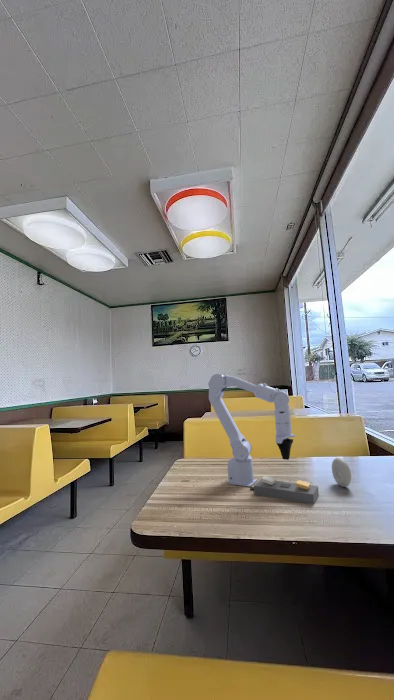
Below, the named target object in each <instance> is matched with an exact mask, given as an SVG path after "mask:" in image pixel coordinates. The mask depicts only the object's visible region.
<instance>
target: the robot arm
mask: <svg viewBox="0 0 394 700" xmlns="http://www.w3.org/2000/svg"><path fill="white" fill-rule="evenodd" d="M207 385H208V401H209V403H210V405H211V407H212V409H213V410H214V413H215V414H216V416H217V418H218V420H219V421H220V424H221V426H222V428H223V429H224V431H225V433H226V435H227V437H228V439H229V445H230V447H231V450H232V456H233V457H232V458H229V460H228V463H227V476H228V477H227V479H228V480H227V484H228V485H229V484H231V485H236V486H242V487H243V486H244V487H249V488H250V487H253V486H254V485H255V484H256V483H257V482H258V479H257V478H254V469H253V468H254V467H253V466H254V465H253V457H252V456H251V452H252V450H253V449H252V444H251V442H250V441H248V440H247V439H246V438H245V436H244V434H243V433H241V431H240V429H239V428H238V426H237V424H236V422H235V420H234V418H233V417H232V415H231V413H230V411H229V409H228V407H227V406H226V403H225V401H224V400H223V396H224V393H225V391H226V389H228V388H230V387H236V388H239V389H242V390H245V391H248V392H251V393H253V394H254V396H255V398H257V399H260V400H262V401H265V402H268V403H273V404H274V419H275V421H274V422H275V423H274V424H275V443H276V445H277V447H278V449H279V451H280V452H279V453H281V458H282V460H287V461H288V460H290V456H291V449H292V444H293V443H294V438H295V437H296V434H293V433H292V432H293V431H292V421H291V411H290V404H289V402H290V397H289V396H290V395H288V393H287V392H285V391H284V390H279V388H277V387H276V388H274V387H271V386H268V384H267V383H265V382H264V383H259V384H257V385H256V384H254V383H252V382H249V381H246V380H244V379H241V378H240V377H237V376H233V375H228V374H225V373H215V374H213V375H212V376H211V377H210V379H209V381H208V383H207Z"/></svg>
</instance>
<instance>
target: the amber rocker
mask: <svg viewBox="0 0 394 700" xmlns="http://www.w3.org/2000/svg"><path fill="white" fill-rule="evenodd" d="M295 483H296V486H297V487H300V488H304V489H307V490H308V489H309V487H310V485H312V484H311V483H310V482H308V481H304V480H300V479H297V481H296V482H295Z"/></svg>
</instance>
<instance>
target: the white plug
mask: <svg viewBox="0 0 394 700" xmlns="http://www.w3.org/2000/svg"><path fill="white" fill-rule="evenodd" d="M260 480H261V481H262V482H265V483H268V484H271V485H273V484H274V483H275V481H277V480H276V478H274V477H271V476H269V475H263V477H261V478H260Z"/></svg>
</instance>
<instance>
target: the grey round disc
mask: <svg viewBox="0 0 394 700" xmlns="http://www.w3.org/2000/svg"><path fill="white" fill-rule="evenodd" d="M331 473H332V477H333V479H334V481H335V483H336V484H337V485H338V486H340V487H342V488H346V487H349V486H350V484H351V481H352V472H351V469H350V466H349V464H348V462H347V461H346V460H345V459H343V458H342V457H336V458H334V459H333V460H332V464H331Z"/></svg>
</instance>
